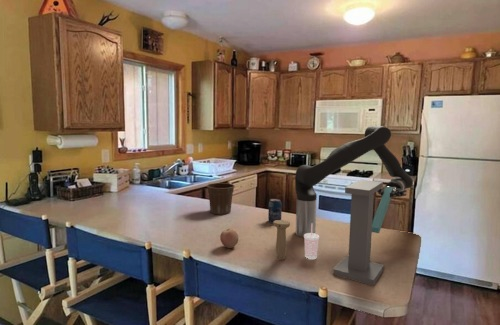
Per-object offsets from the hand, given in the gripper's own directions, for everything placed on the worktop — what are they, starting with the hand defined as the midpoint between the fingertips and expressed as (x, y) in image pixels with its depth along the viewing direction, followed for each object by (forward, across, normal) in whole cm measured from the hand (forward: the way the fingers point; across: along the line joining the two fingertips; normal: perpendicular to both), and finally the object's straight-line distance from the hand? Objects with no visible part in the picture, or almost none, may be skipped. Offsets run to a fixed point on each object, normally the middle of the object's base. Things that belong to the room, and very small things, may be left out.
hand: (386, 194), depth 147 cm
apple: (+46, -53, +22) cm, 73 cm away
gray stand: (+35, 0, +22) cm, 41 cm away
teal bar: (+5, 0, +6) cm, 8 cm away
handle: (+44, -29, +22) cm, 57 cm away
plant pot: (+7, -90, +22) cm, 93 cm away
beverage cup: (+35, -20, +22) cm, 46 cm away
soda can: (+4, -55, +22) cm, 60 cm away
